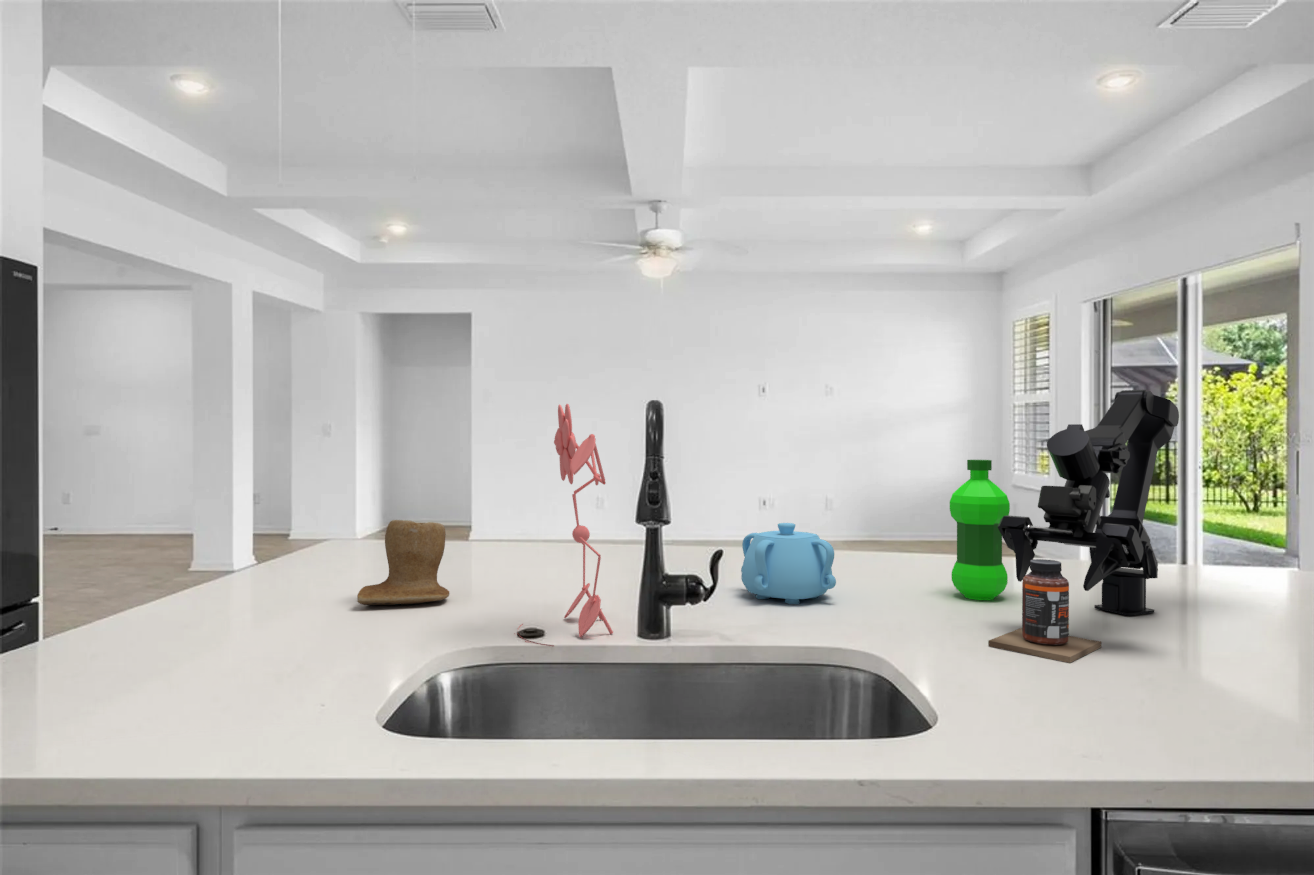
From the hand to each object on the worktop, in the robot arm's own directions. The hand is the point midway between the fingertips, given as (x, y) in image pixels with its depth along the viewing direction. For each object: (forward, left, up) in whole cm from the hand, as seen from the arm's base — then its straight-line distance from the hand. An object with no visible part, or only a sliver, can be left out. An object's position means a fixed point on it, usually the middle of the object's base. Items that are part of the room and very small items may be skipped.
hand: (1051, 584), depth 114 cm
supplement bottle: (+2, +1, -8) cm, 8 cm away
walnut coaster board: (+2, +1, -9) cm, 9 cm away
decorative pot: (+18, -42, -9) cm, 47 cm away
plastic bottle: (-14, -28, -9) cm, 33 cm away
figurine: (+62, -35, -9) cm, 72 cm away
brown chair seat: (+83, -65, -9) cm, 106 cm away
